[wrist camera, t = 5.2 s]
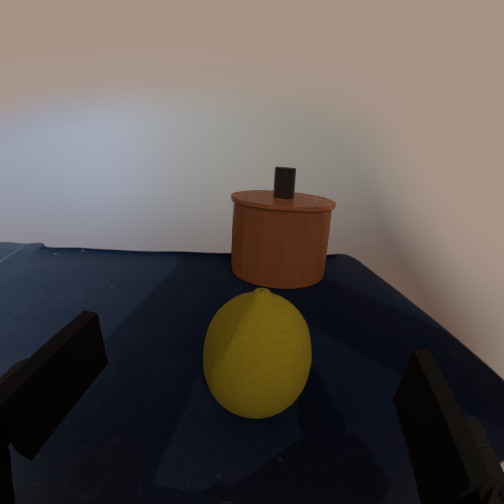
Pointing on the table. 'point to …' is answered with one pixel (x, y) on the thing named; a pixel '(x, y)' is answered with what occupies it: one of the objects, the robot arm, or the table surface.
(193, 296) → the table surface
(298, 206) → the pot lid
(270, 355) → the lemon
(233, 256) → the pot
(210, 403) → the table surface
